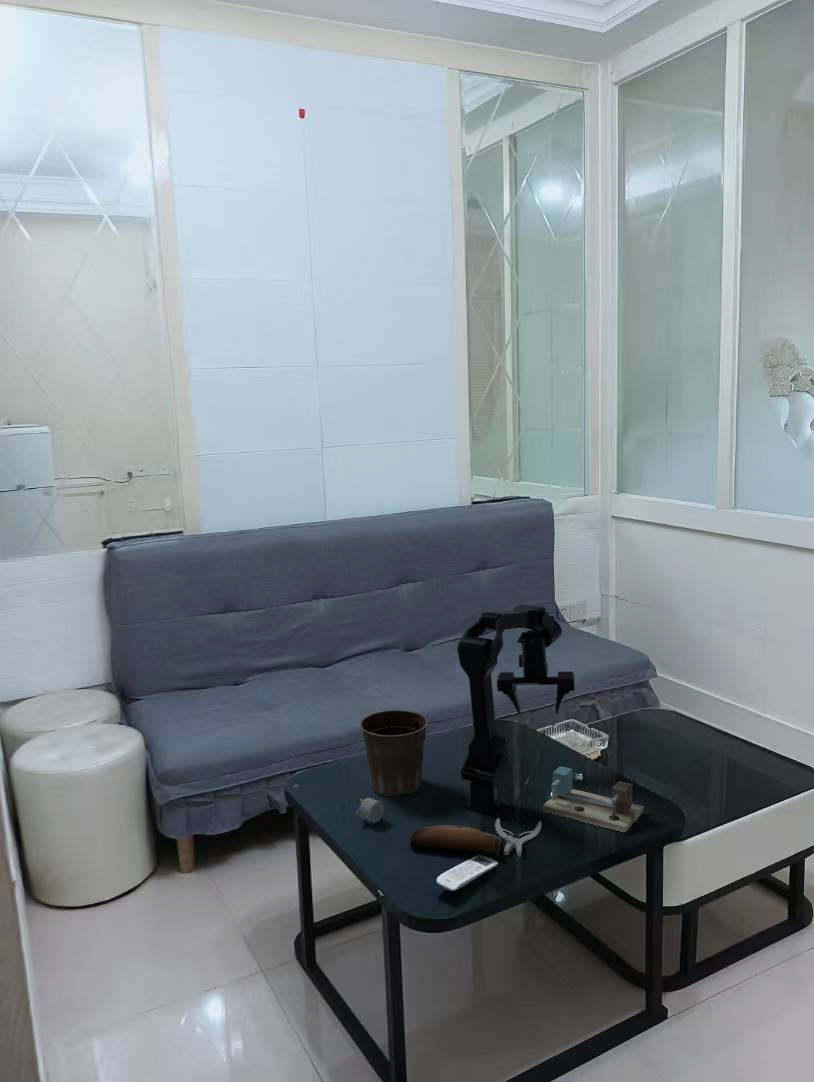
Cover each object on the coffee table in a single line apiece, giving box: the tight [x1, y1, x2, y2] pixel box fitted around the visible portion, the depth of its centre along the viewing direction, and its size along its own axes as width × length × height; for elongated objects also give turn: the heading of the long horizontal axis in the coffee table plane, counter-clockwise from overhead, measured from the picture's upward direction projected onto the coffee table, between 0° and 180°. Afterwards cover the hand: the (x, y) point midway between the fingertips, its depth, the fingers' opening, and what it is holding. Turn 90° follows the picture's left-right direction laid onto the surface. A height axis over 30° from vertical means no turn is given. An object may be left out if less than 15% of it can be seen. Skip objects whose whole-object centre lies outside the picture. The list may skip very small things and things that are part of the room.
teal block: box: [550, 765, 573, 800], centre depth 193 cm, size 7×3×5 cm, turn 145°
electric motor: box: [355, 797, 385, 826], centre depth 189 cm, size 7×5×5 cm
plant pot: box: [359, 709, 429, 798], centre depth 204 cm, size 16×16×16 cm
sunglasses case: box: [410, 824, 503, 857], centre depth 177 cm, size 18×7×7 cm, turn 75°
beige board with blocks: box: [542, 780, 645, 833], centre depth 189 cm, size 11×19×7 cm, turn 55°
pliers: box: [494, 817, 543, 858], centre depth 179 cm, size 10×2×15 cm
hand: (537, 712), depth 213 cm, fingers open, 9 cm apart
